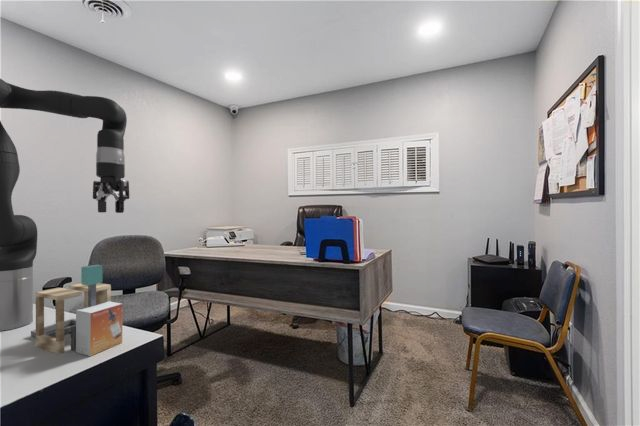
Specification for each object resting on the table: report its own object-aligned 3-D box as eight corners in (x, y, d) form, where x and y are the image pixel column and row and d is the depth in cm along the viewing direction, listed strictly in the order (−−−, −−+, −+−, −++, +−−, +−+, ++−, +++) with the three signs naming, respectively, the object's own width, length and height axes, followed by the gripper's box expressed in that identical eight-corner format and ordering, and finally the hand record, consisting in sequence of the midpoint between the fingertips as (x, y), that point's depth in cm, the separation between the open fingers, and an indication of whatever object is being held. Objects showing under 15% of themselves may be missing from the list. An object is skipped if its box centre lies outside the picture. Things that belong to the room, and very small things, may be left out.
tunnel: (35, 346, 73) (35, 292, 73) (88, 328, 85) (88, 281, 84) (59, 354, 70) (59, 296, 70) (110, 334, 81) (110, 284, 81)
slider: (68, 349, 71) (68, 268, 71) (107, 335, 79) (107, 262, 79) (75, 351, 70) (74, 269, 70) (113, 336, 78) (113, 263, 78)
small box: (89, 357, 68) (89, 313, 68) (75, 352, 70) (74, 310, 70) (123, 342, 76) (123, 303, 76) (109, 339, 78) (109, 300, 78)
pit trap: (30, 336, 79) (30, 331, 79) (73, 323, 88) (73, 318, 88) (45, 341, 76) (45, 335, 76) (87, 327, 86) (87, 321, 86)
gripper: (83, 162, 93) (84, 212, 93) (113, 159, 88) (113, 212, 88) (108, 165, 100) (108, 212, 100) (137, 163, 95) (137, 212, 95)
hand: (110, 212), depth 94 cm, fingers open, 8 cm apart
